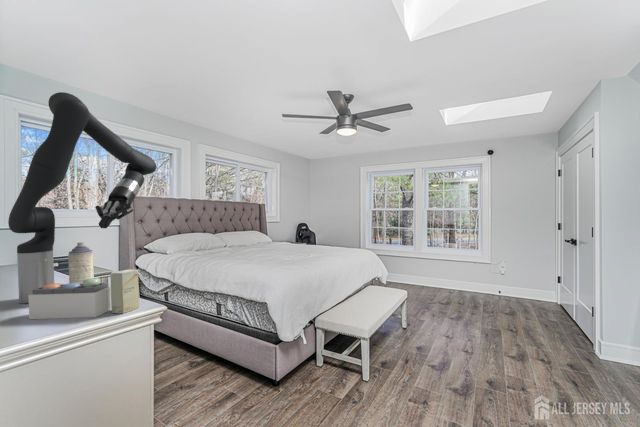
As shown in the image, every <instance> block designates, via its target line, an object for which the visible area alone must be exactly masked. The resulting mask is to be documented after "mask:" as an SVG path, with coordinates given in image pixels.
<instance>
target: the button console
mask: <svg viewBox="0 0 640 427" xmlns="http://www.w3.org/2000/svg"><path fill="white" fill-rule="evenodd" d="M64 284H65V283H63V284H61V283H60V287H56V288H53V289H42V287H40V288H37V289H33V290H32V293H33V294H31V295H28V297H29V303H28V316H29V317H28V319H29V320H47V319H49V320H50V319H82V318H85V319H86V318H97V317H99V316H101V315H103V314H105V313H107V312H109V311H112V308H111V286H109V282H100V285H99V286H96V287H91V288H83V284H80V286H78V287H75V288H63V285H64Z"/></svg>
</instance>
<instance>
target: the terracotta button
mask: <svg viewBox="0 0 640 427" xmlns="http://www.w3.org/2000/svg"><path fill="white" fill-rule="evenodd" d="M60 284H61V283H59V282H54V283H53V284H47V285H43V286H42V289H53V288H56V287H60Z"/></svg>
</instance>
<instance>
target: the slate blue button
mask: <svg viewBox="0 0 640 427" xmlns="http://www.w3.org/2000/svg"><path fill="white" fill-rule="evenodd" d="M63 284H64V285H63V288H75V287H78V286H80V283H69V282H68V283H66V284H65V283H63Z"/></svg>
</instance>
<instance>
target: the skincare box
mask: <svg viewBox="0 0 640 427" xmlns="http://www.w3.org/2000/svg"><path fill="white" fill-rule="evenodd" d="M109 274H110V287H111V308H112V309H111V313H112V314H126V313H128V312H130V311H133V310H136V309H139V308H140V289H139V288H140V287H139V269H130V268H129V269H124V270H119V271H114V272H110V273H109Z"/></svg>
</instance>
